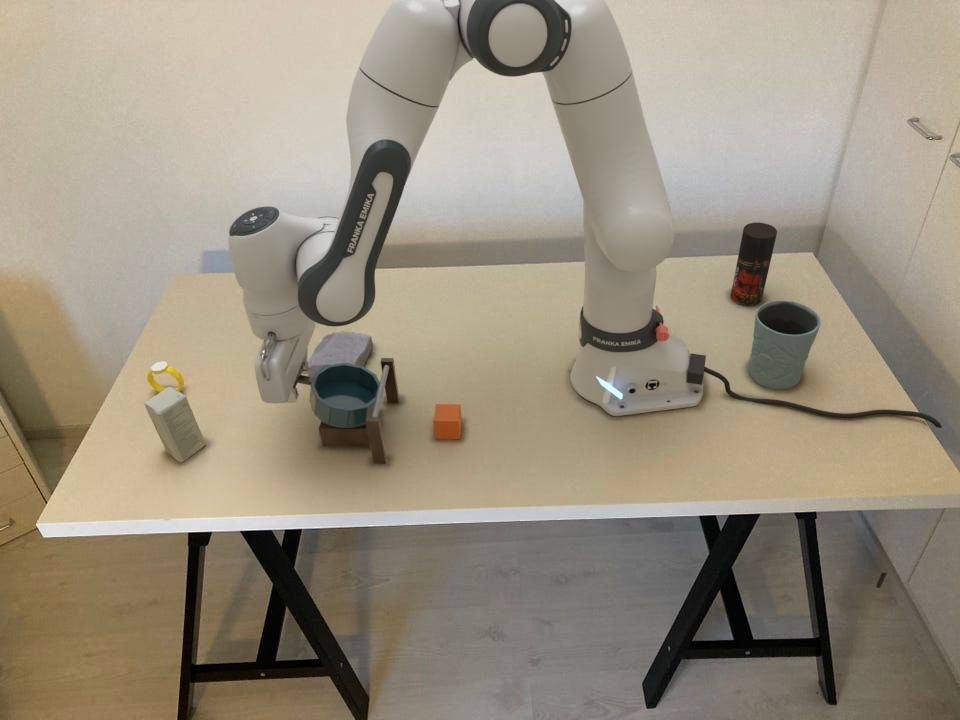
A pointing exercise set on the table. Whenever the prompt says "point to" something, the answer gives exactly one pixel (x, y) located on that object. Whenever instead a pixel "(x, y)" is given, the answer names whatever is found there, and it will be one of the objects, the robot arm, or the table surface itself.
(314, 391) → the bowl
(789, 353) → the grey green cup
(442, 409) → the block
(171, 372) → the watch
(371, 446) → the stand
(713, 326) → the table surface
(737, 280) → the deodorant
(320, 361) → the stone block
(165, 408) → the box
